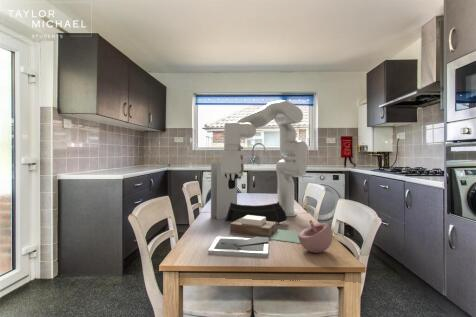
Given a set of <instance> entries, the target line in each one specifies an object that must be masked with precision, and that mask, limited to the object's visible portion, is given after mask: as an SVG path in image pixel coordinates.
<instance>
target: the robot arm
mask: <svg viewBox="0 0 476 317" xmlns="http://www.w3.org/2000/svg"><path fill="white" fill-rule="evenodd" d="M303 118H304V112H303V111H302V109H301V108H299V107H298V106H297V105H295V104H293V103H292V102H290V101H288V100H283V99H282V100H275V101H271V102H270V101H269V102H267V104H266V105H265V104H264V105H263V106H262V107H260V109H257V111H254V112H252V113H250V114H248V115H245V116H243V117H240V118H239V119H237V120H235V121H227V122H225V123H224V128H223V129H224V130H223V132H224V134H223V135H224V136H223V138H224V140H223V146H224V147H223V151H222V154H221V161H220V162H221V175H223V176H225V177H226V178H227V180H228V187H229V189H234V188H235V180H236V179H237V180H238V178H239V177H240V178H241V177H243V176H244V171H245V164H244V155H243V151H242V150H244V147H243V146H242V145H241V141H242V140H247V139H252V138H254V137H255V136H256V133H257V129H259V128H263V127H265V126H266V125H268V124H269V123H270V122H272V121H273V120H274V122H275V123H276V125H277V126H278V128H279V130H280V147H279V152H280V155H281V156H282V157H284V158H285V157H286V158H285V159H280V160H279V161H277V162H276V166H275V169H276V170H275V171H276V178H277V191H276V192H277V195H276V196H277V199H276V200H277V202H279V204H280V206H281V204H282V206H283V209H284V211H285V213H286V217H294V216H297V212H296V211H295V182H294V179H293V177H295V178H302V177H305V175H306V174H307V173H306V172H307V168H308V167H307V166H308V155H309V154H308V153H309V149H308V148H309V147H308V144H307V143H306V141H304V140H301V139H299V140H298V139H297V132H296V129H295V127H294V126H293V125H294V124H295V125H296V124H299V123H301V122H302V120H303ZM241 139H242V140H241ZM241 151H242V152H241ZM287 158H295V159H287ZM231 173H232V174H231ZM277 202H276V203H277Z"/></svg>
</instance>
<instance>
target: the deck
mask: <svg viewBox="0 0 476 317" xmlns="http://www.w3.org/2000/svg"><path fill="white" fill-rule="evenodd" d="M277 231H278V223H277V222H272V221H266V222H265V223H264V224H263V225H261V226H258V225H250V224H242V218H240V219H238V220H236V221H234V222H229V234H230V233H231V234H237V235H245V236H252V237H269V238H270V237H271V236H272V235H273V234H274V233H275V232H277Z"/></svg>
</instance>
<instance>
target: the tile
mask: <svg viewBox="0 0 476 317" xmlns="http://www.w3.org/2000/svg"><path fill="white" fill-rule="evenodd" d="M265 222H266V217H262V216H253V215H246V216H245V217H243V218H242V224H250V225H258V226H261V225H263V224H264V223H265Z"/></svg>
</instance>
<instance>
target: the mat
mask: <svg viewBox="0 0 476 317" xmlns="http://www.w3.org/2000/svg"><path fill="white" fill-rule="evenodd" d="M300 232H301V231H294V230H286V229H277V231H276V232H275V233H274V234H273V235H272V236H271V237H269V238H268V239H269V240H273V241H279V242H284V243H285V242H286V243H294V244H300V245H301V243H300V241H299V238H298V234H299V233H300Z"/></svg>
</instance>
